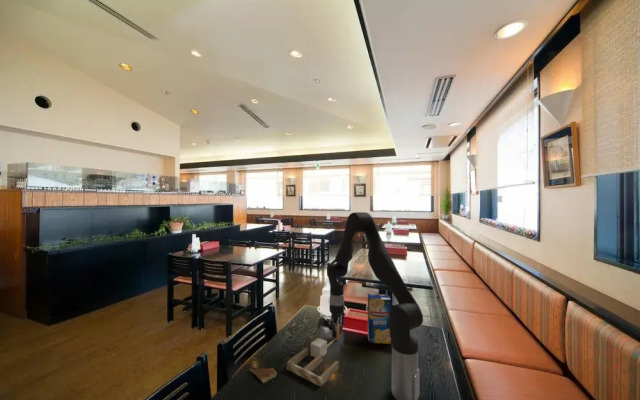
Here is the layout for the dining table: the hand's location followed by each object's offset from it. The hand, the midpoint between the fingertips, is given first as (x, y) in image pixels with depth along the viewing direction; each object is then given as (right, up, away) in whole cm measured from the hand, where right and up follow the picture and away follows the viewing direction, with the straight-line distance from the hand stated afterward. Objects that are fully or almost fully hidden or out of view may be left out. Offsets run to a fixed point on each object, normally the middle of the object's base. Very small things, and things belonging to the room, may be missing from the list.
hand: (336, 335), depth 130 cm
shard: (-32, -2, -28) cm, 43 cm away
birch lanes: (-12, -1, -24) cm, 26 cm away
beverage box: (+22, -2, 0) cm, 22 cm away
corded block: (-5, -2, -7) cm, 9 cm away
